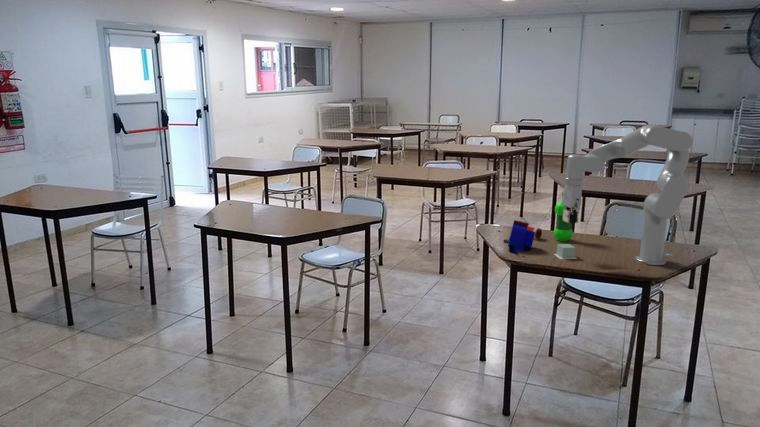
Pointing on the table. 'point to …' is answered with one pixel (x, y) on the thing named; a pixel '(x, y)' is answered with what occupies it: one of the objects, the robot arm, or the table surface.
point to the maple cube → (568, 215)
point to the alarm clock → (520, 237)
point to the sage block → (565, 251)
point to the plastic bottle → (562, 224)
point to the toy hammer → (537, 235)
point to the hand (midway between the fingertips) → (570, 220)
